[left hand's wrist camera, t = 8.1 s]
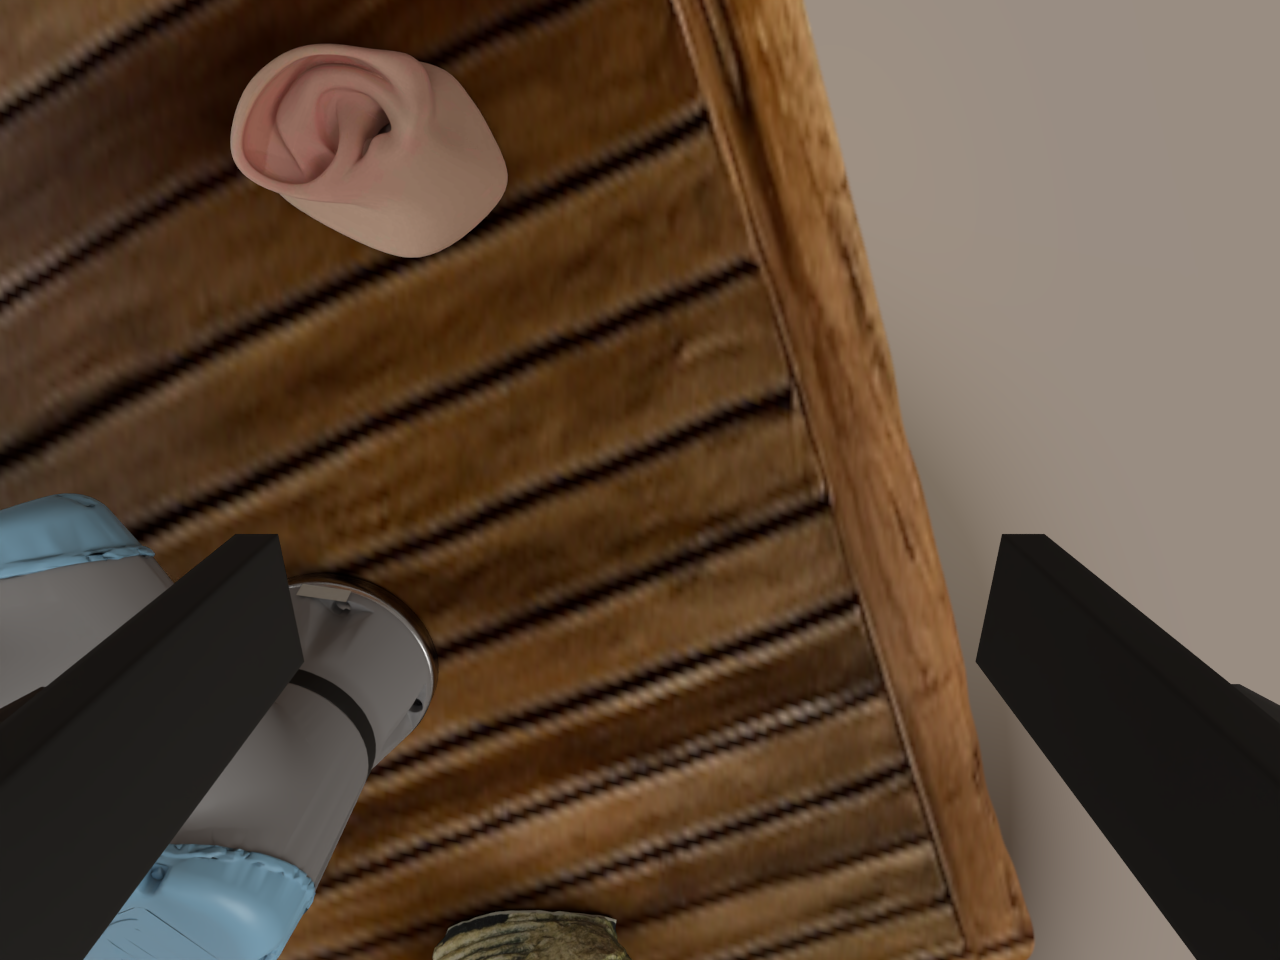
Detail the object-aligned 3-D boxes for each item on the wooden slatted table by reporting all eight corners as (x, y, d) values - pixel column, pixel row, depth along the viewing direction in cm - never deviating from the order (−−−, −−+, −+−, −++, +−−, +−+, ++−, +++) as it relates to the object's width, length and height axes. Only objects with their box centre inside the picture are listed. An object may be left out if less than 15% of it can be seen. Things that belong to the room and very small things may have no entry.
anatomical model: (525, 136, 37) (415, 313, 40) (536, 142, 40) (434, 304, 44) (297, -46, 34) (199, 161, 37) (331, -21, 38) (239, 166, 41)
